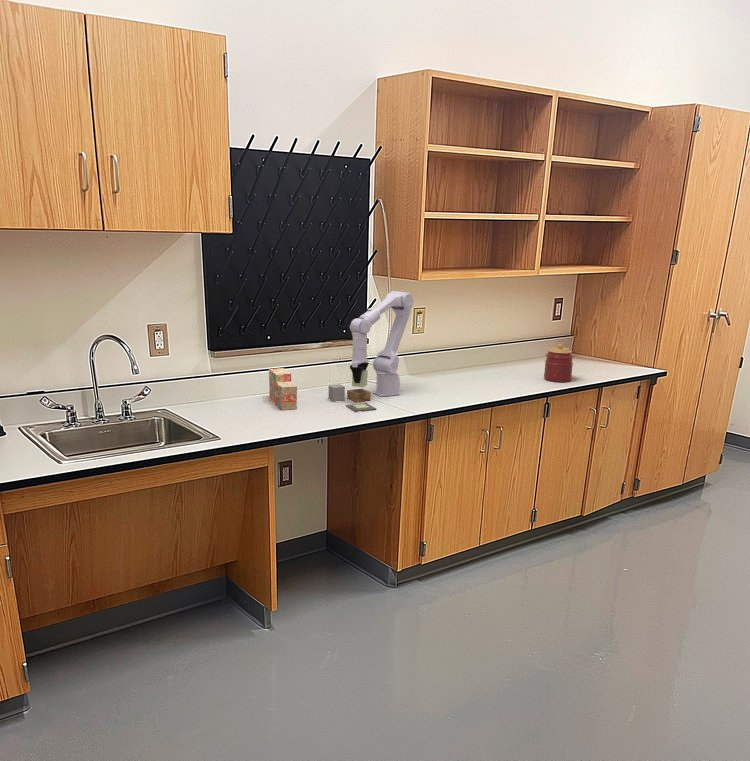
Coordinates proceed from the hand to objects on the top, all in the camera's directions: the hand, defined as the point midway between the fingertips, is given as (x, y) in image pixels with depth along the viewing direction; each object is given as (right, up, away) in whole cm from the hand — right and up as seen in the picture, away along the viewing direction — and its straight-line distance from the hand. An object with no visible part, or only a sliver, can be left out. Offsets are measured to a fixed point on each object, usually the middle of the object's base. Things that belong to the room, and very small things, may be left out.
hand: (359, 381), depth 276 cm
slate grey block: (-9, -8, +1) cm, 12 cm away
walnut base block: (0, -8, +2) cm, 8 cm away
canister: (+94, +1, +49) cm, 106 cm away
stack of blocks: (-30, -9, -6) cm, 32 cm away
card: (+1, -10, -11) cm, 15 cm away
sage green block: (0, -2, 0) cm, 2 cm away
